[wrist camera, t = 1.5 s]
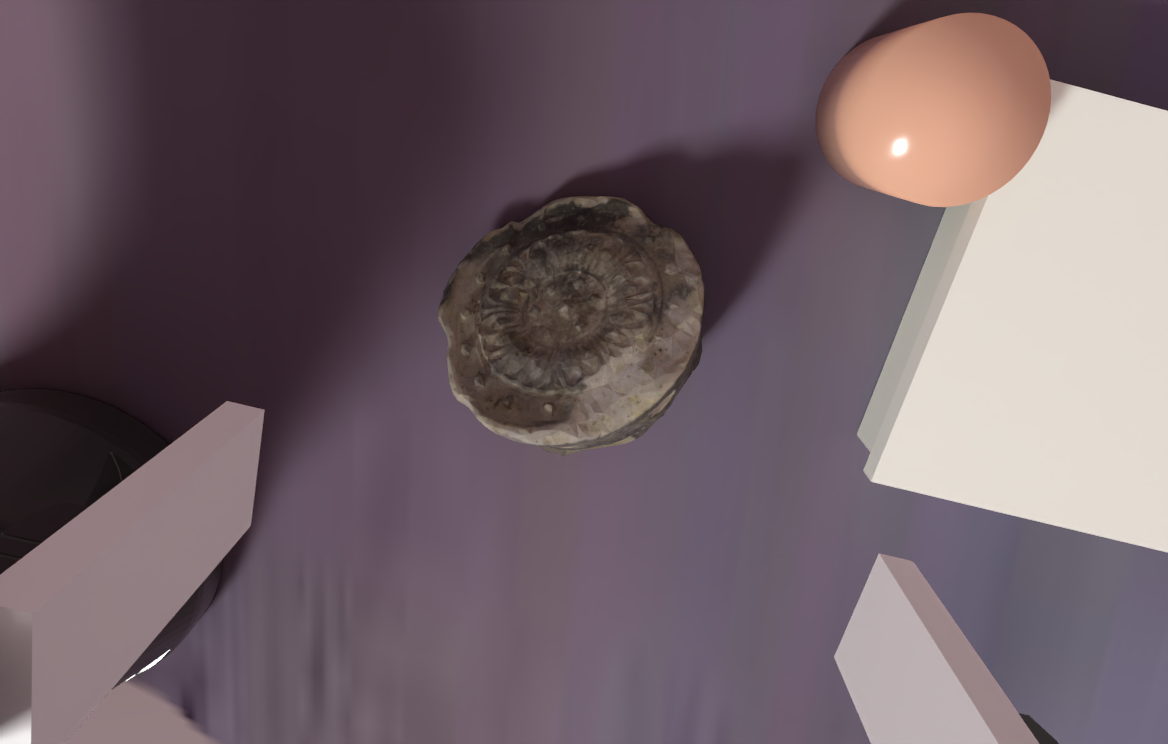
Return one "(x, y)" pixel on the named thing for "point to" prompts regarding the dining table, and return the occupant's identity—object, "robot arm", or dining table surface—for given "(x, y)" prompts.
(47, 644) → the robot arm
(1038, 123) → the peach rounded glossy part
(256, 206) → the dining table surface
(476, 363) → the fossil
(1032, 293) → the stand
